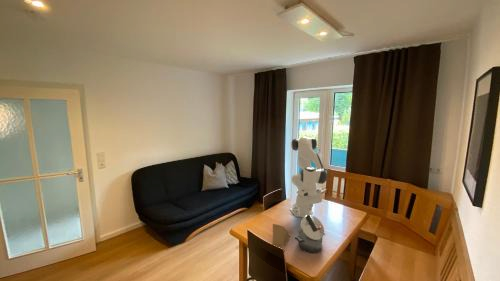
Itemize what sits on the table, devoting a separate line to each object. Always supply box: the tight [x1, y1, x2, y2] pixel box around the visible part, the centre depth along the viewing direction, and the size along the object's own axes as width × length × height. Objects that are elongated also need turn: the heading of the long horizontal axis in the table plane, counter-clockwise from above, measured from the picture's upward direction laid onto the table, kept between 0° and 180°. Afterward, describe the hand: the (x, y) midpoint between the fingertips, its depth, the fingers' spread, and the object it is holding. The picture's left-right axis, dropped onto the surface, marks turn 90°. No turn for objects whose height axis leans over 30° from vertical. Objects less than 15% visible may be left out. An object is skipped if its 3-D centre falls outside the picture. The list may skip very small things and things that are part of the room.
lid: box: [300, 215, 325, 241], centre depth 142 cm, size 17×17×3 cm
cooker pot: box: [294, 229, 326, 254], centre depth 146 cm, size 16×22×9 cm
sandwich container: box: [272, 223, 292, 248], centre depth 154 cm, size 9×15×15 cm, turn 149°
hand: (309, 210), depth 145 cm, fingers closed
